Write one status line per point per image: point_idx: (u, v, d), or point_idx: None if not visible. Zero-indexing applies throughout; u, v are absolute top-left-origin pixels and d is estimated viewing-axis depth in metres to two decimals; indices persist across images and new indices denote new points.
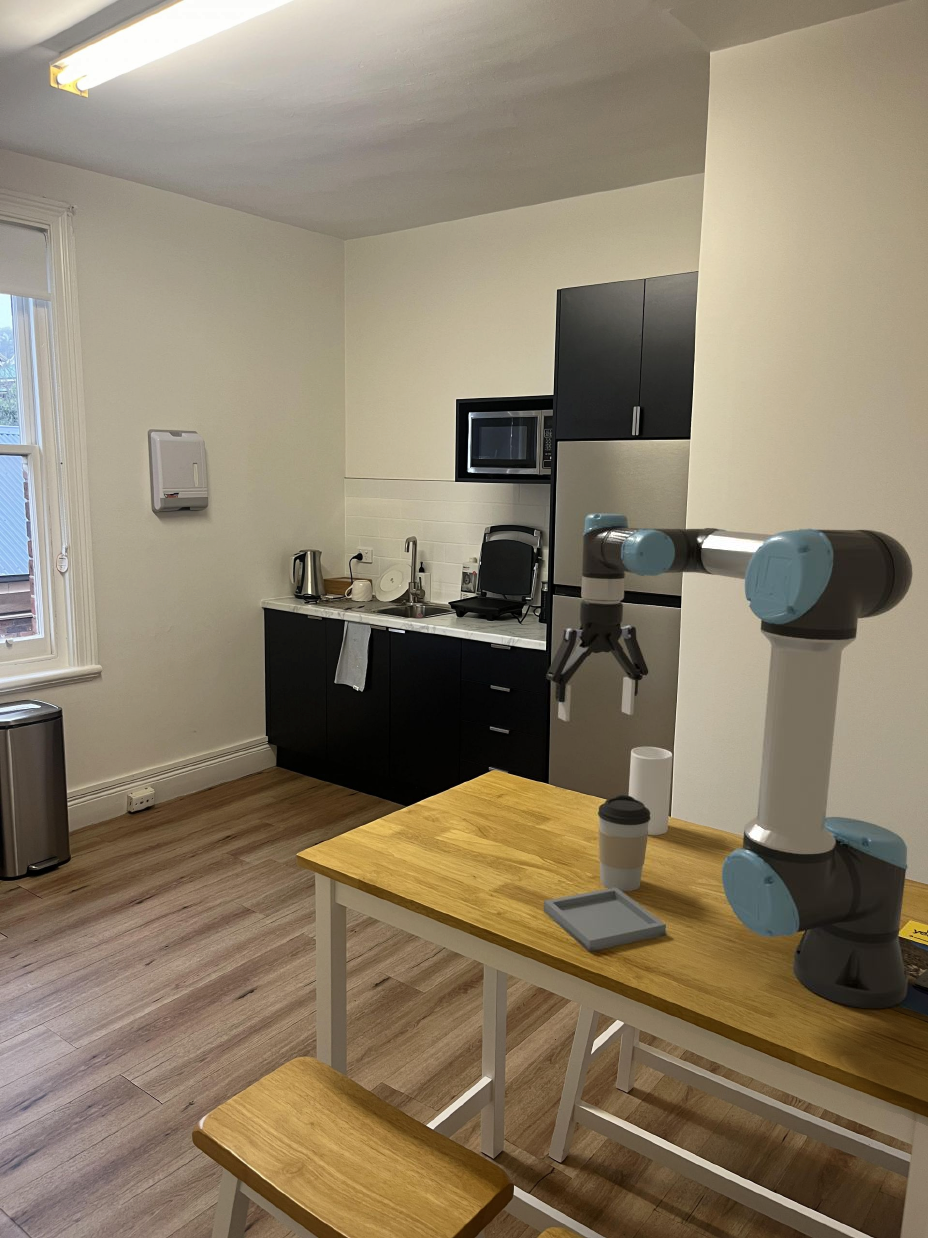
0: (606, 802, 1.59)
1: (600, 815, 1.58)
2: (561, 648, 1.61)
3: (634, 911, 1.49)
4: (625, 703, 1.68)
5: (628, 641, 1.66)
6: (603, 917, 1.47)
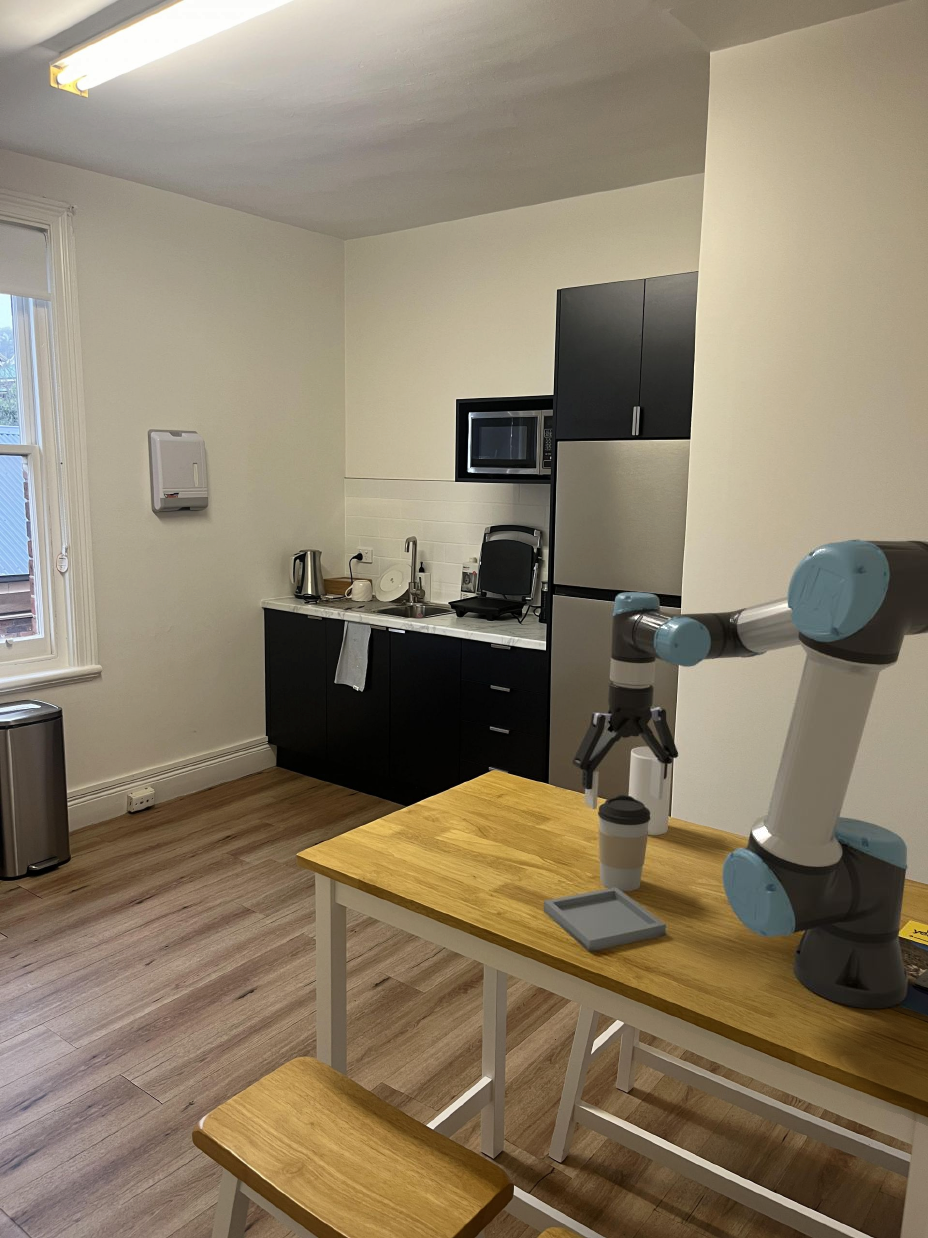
0: (606, 802, 1.59)
1: (600, 815, 1.58)
2: (589, 733, 1.54)
3: (634, 911, 1.49)
4: (654, 786, 1.62)
5: (657, 723, 1.59)
6: (603, 917, 1.47)
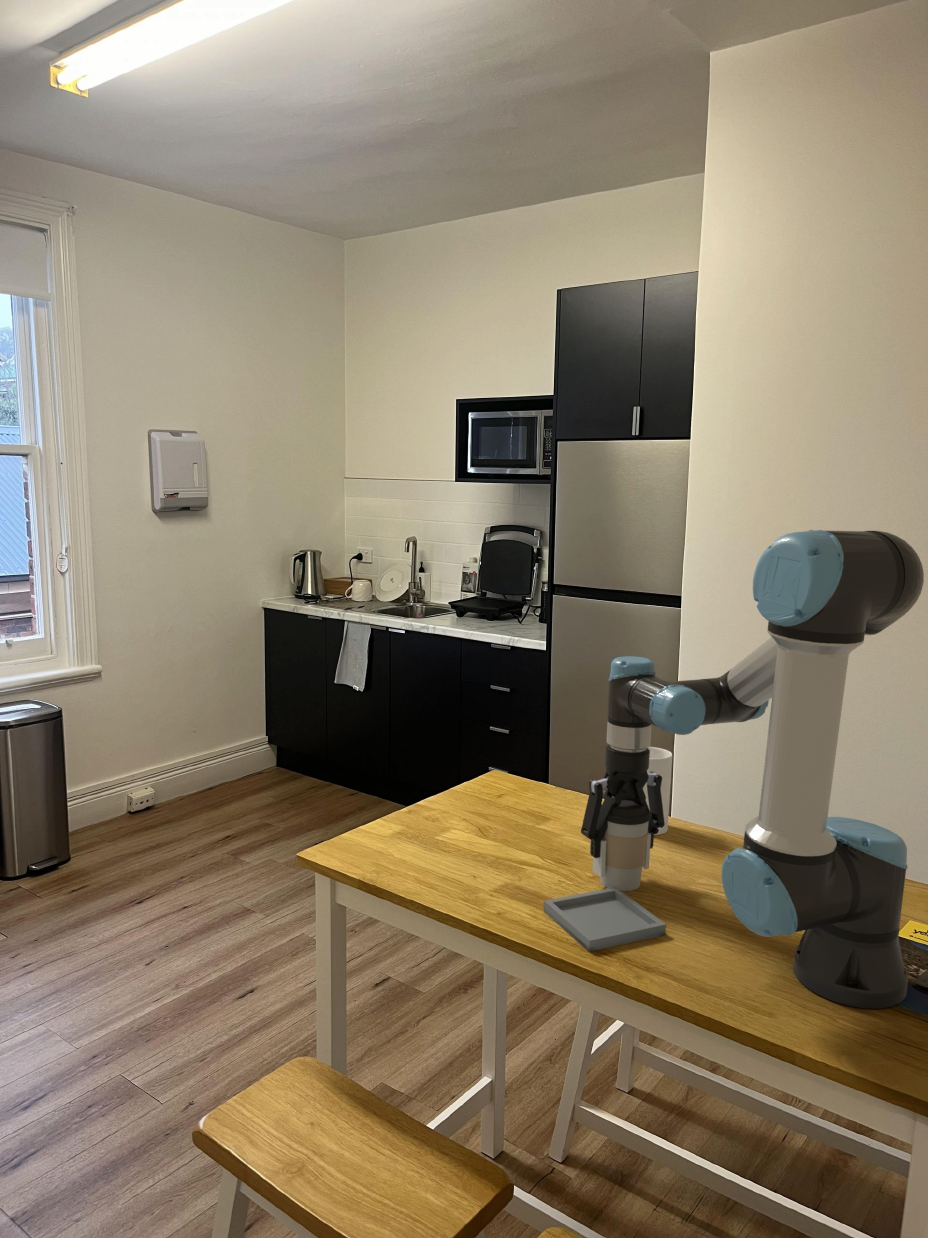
0: None
1: None
2: (590, 802, 1.56)
3: (634, 911, 1.49)
4: None
5: (651, 788, 1.61)
6: (603, 917, 1.47)
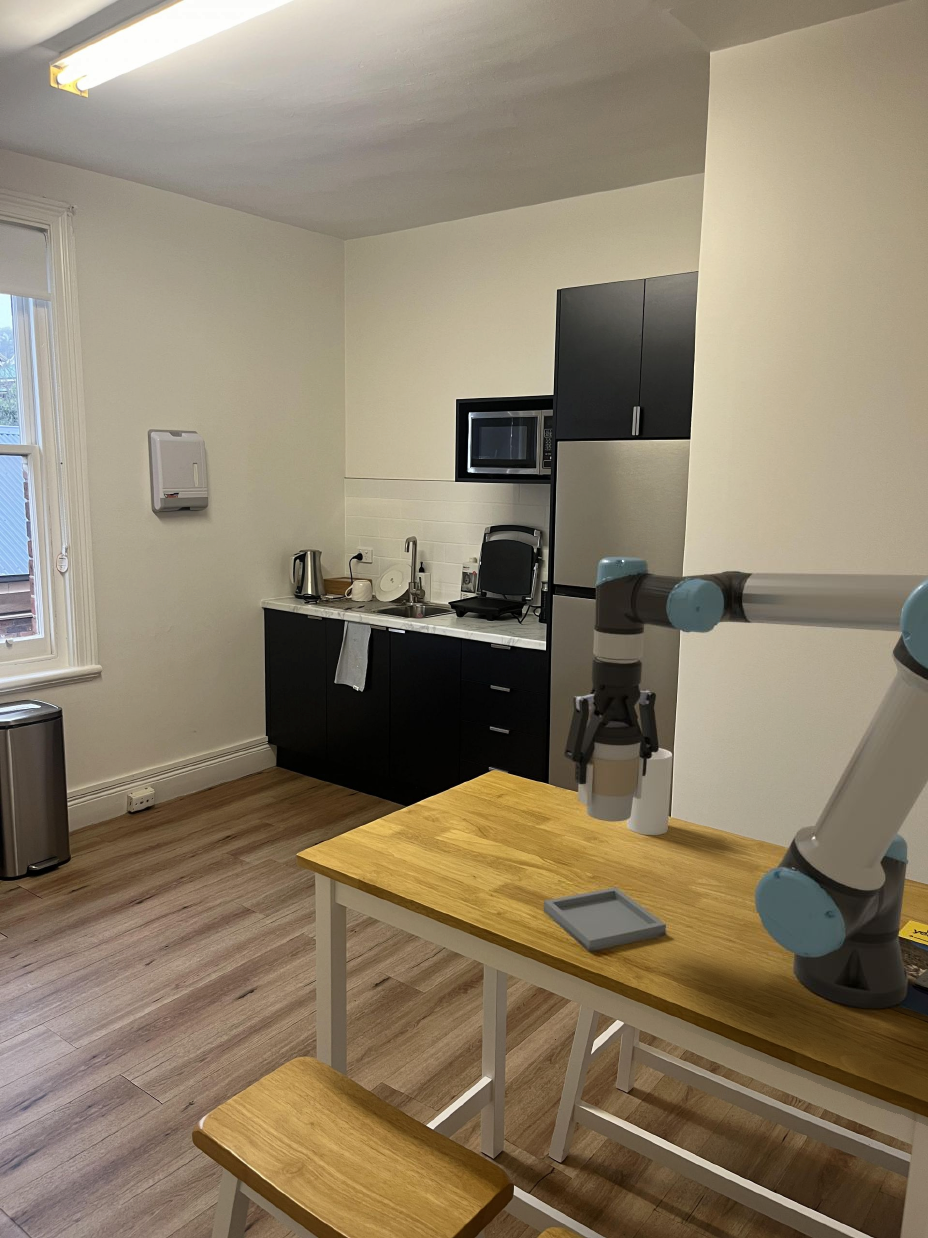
0: None
1: None
2: (574, 720, 1.39)
3: (634, 911, 1.49)
4: None
5: (644, 708, 1.43)
6: (603, 917, 1.47)
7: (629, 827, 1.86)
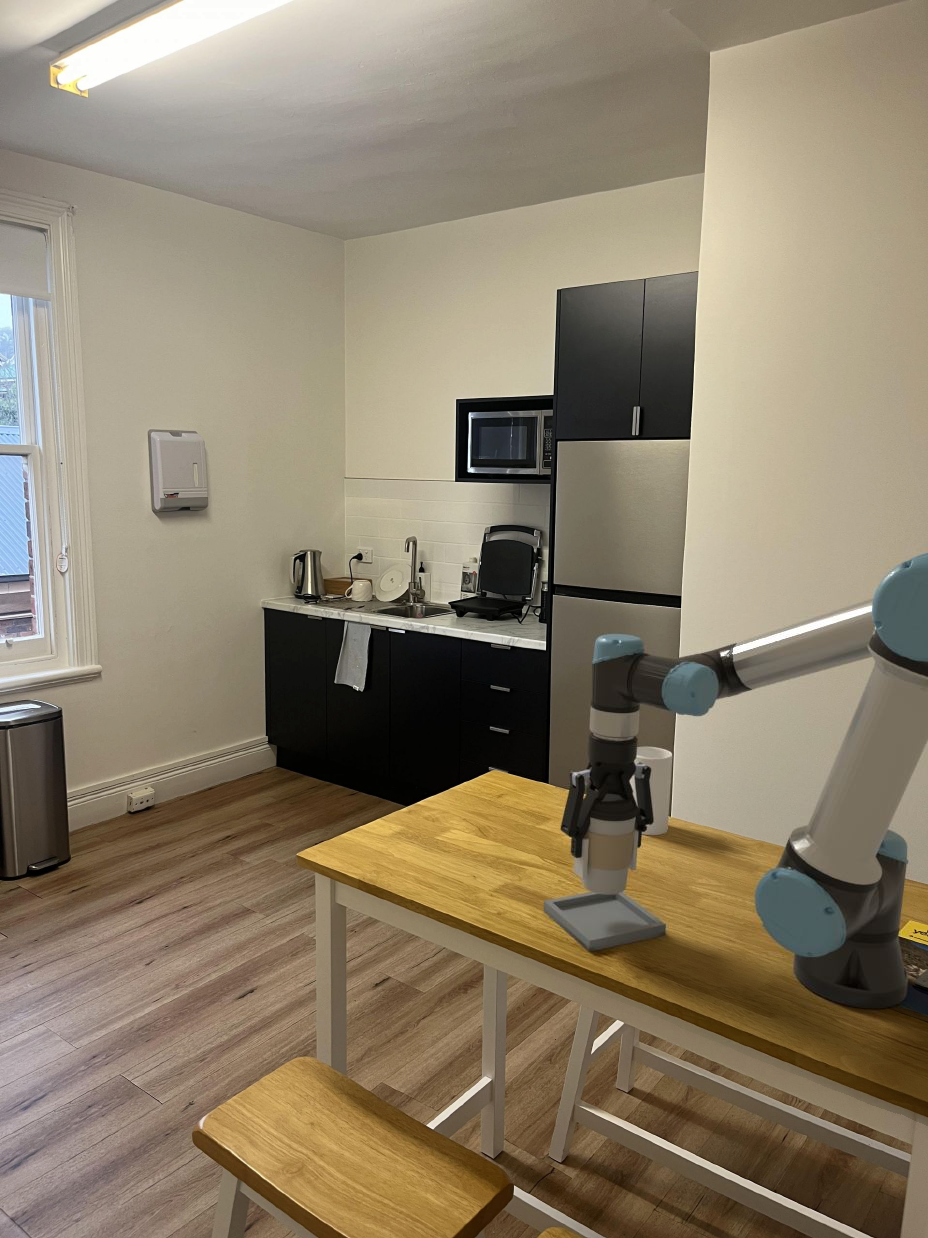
0: None
1: None
2: (570, 796, 1.41)
3: (634, 911, 1.49)
4: None
5: (639, 781, 1.45)
6: (603, 917, 1.47)
7: None
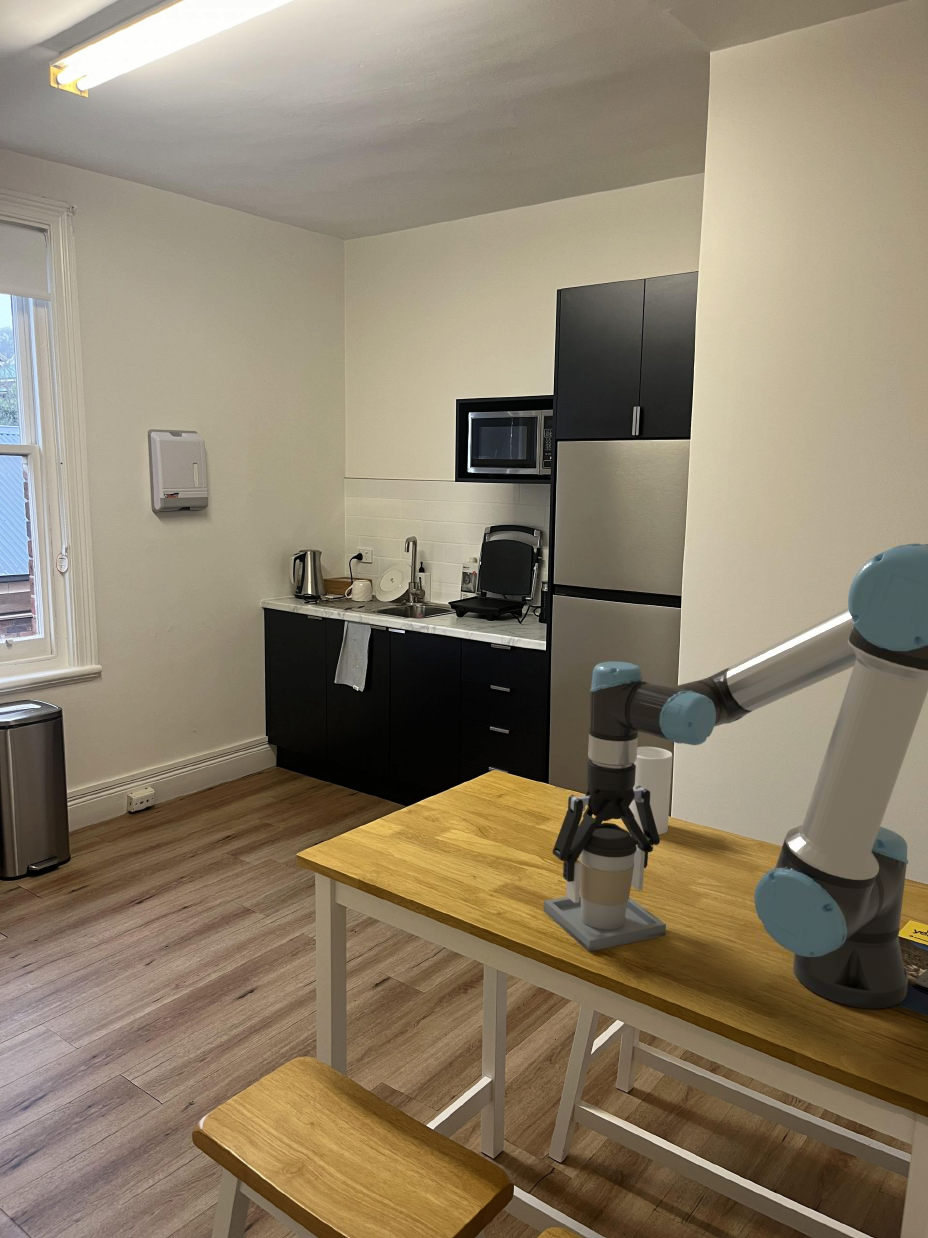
0: None
1: None
2: (567, 820, 1.41)
3: (634, 911, 1.49)
4: (633, 876, 1.48)
5: (640, 805, 1.46)
6: None
7: None
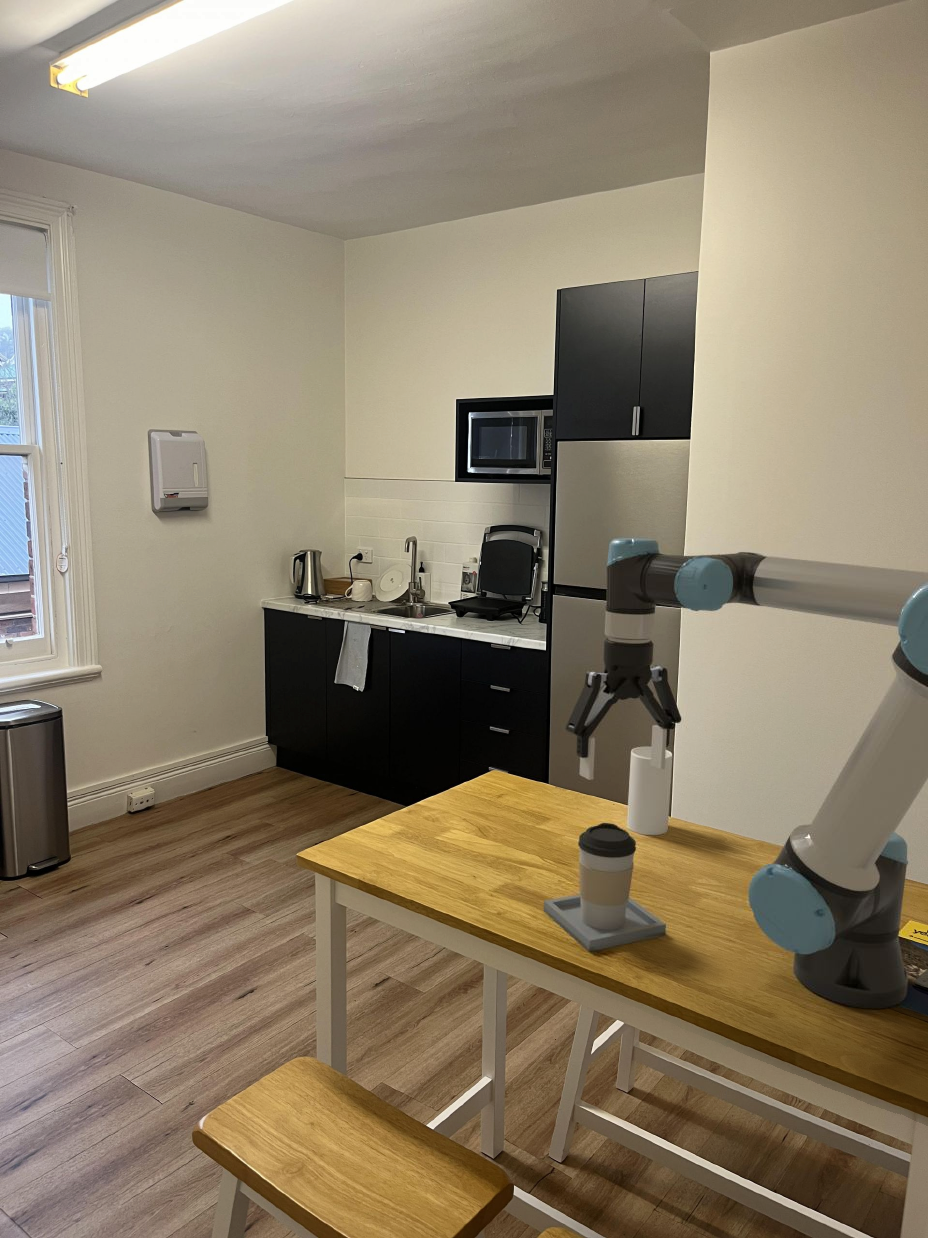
0: (587, 831, 1.44)
1: (580, 846, 1.43)
2: (583, 695, 1.39)
3: (634, 911, 1.49)
4: (655, 755, 1.46)
5: (658, 684, 1.44)
6: None
7: (629, 827, 1.86)
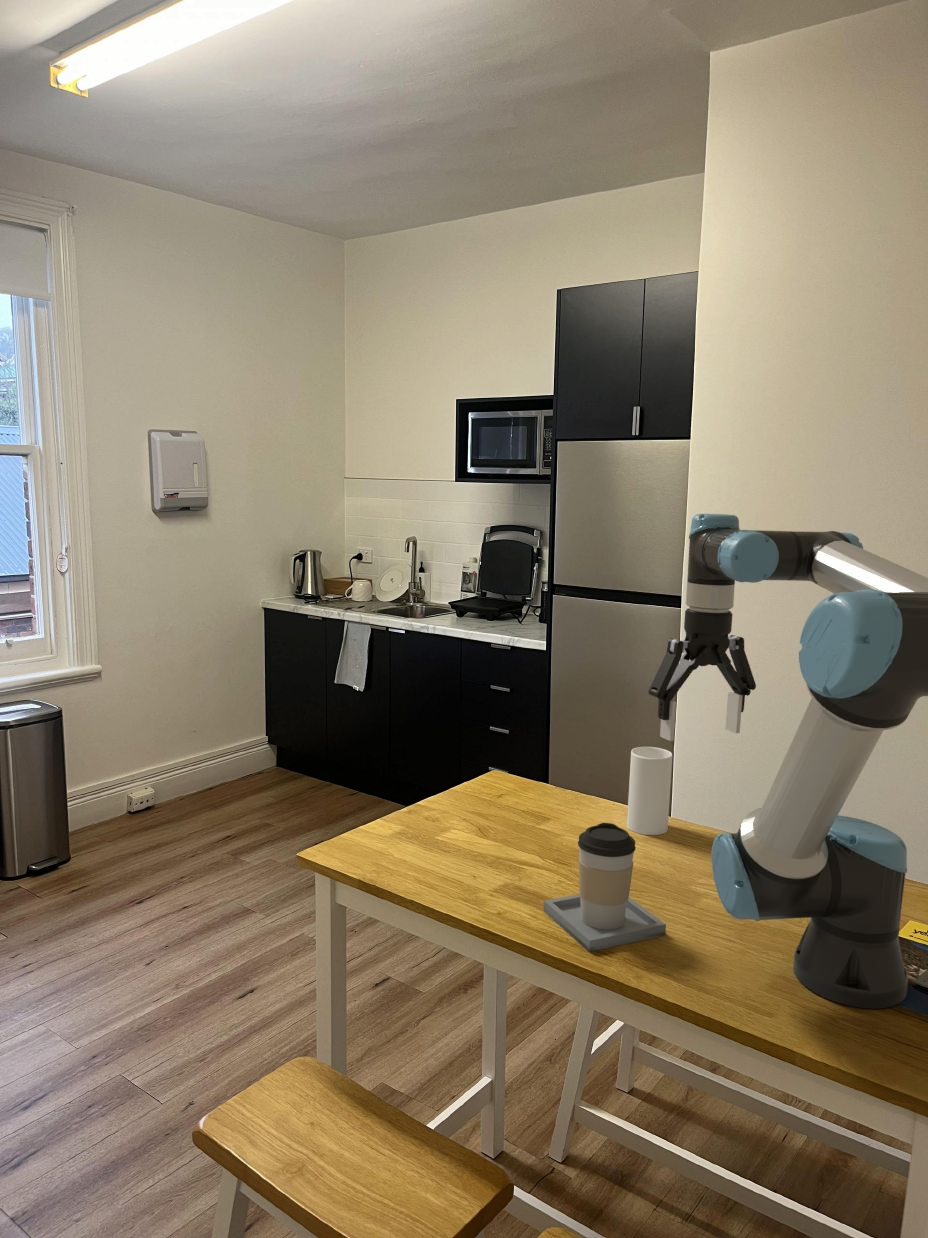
0: (587, 831, 1.44)
1: (580, 845, 1.43)
2: (665, 661, 1.47)
3: (634, 911, 1.49)
4: (730, 720, 1.55)
5: (735, 652, 1.52)
6: None
7: (629, 827, 1.86)
